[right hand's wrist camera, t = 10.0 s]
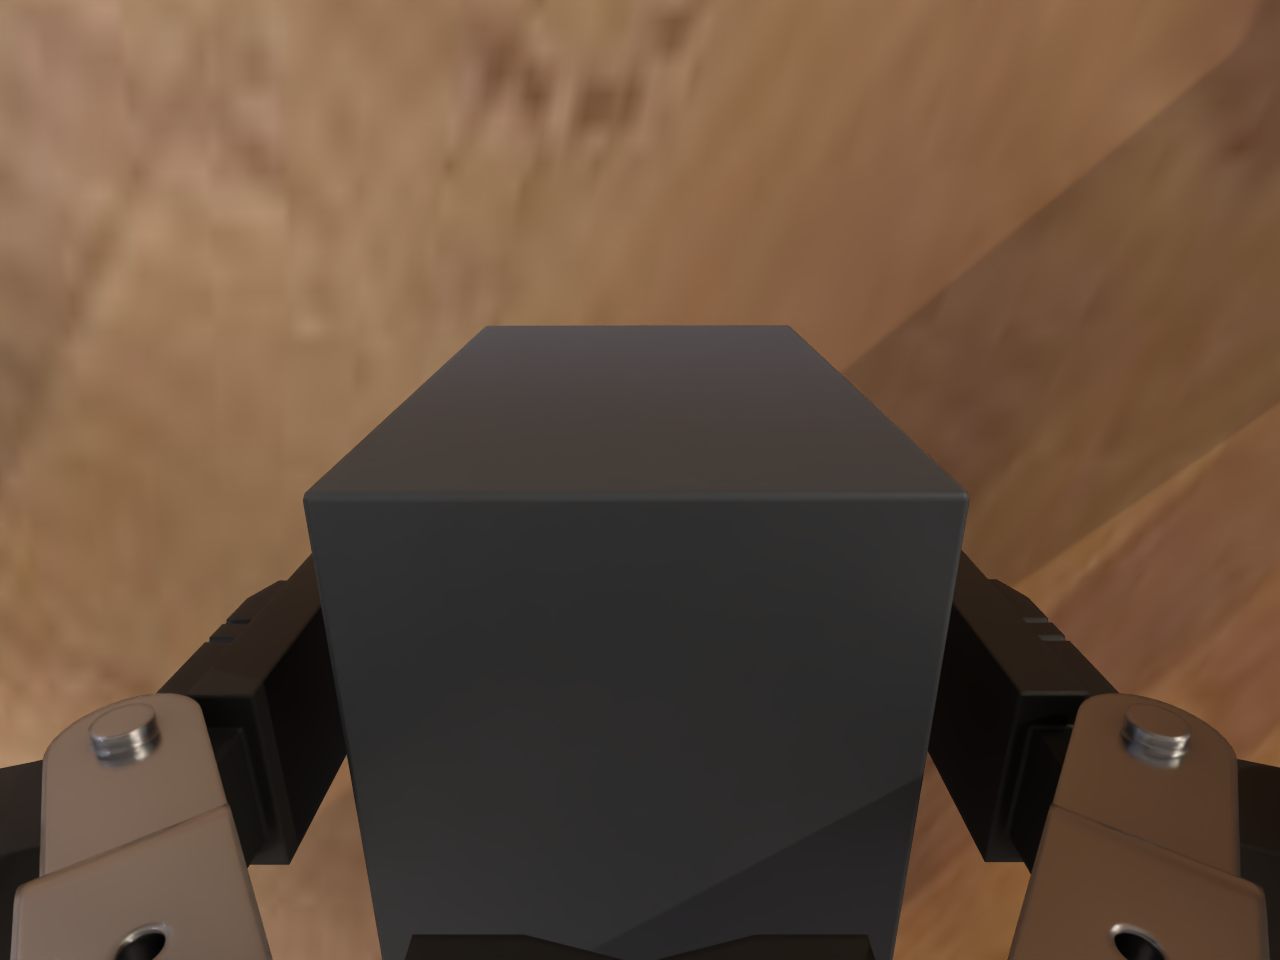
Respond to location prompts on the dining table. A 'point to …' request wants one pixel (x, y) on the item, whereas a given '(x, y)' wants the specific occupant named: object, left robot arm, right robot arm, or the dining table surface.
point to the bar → (636, 641)
